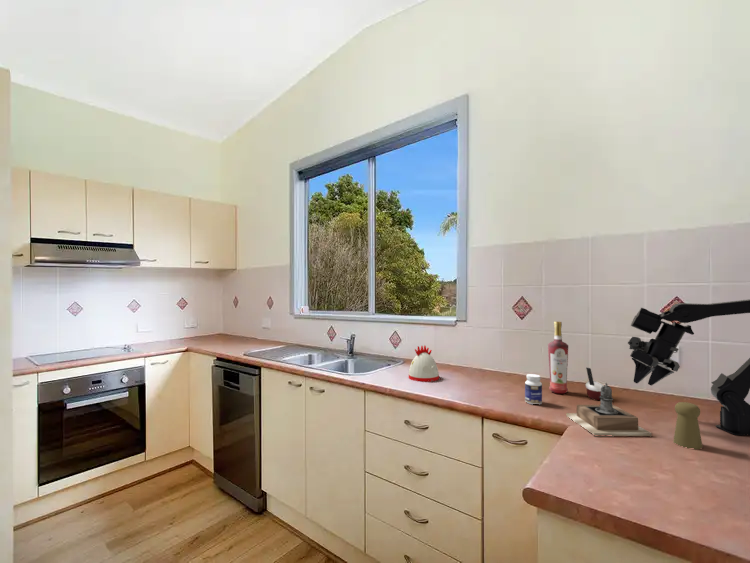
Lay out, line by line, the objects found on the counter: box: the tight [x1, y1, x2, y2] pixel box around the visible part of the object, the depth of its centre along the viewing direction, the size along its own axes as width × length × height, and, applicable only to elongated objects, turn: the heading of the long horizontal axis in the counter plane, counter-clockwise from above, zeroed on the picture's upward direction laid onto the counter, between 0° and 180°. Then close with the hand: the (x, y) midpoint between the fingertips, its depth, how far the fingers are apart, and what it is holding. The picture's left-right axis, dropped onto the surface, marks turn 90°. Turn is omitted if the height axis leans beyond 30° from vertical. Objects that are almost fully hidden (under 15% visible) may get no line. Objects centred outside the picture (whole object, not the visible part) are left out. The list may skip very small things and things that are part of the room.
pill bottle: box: [524, 373, 543, 405], centre depth 135 cm, size 6×6×10 cm
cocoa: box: [585, 367, 605, 401], centre depth 140 cm, size 10×6×12 cm, turn 98°
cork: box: [672, 401, 704, 450], centre depth 100 cm, size 6×6×11 cm
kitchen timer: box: [408, 344, 440, 383], centre depth 172 cm, size 14×14×15 cm
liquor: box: [547, 321, 569, 395], centre depth 148 cm, size 7×7×28 cm
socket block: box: [565, 404, 652, 438], centre depth 113 cm, size 16×16×4 cm
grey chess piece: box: [595, 382, 618, 415], centre depth 113 cm, size 6×6×12 cm
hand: (642, 383), depth 120 cm, fingers open, 9 cm apart
